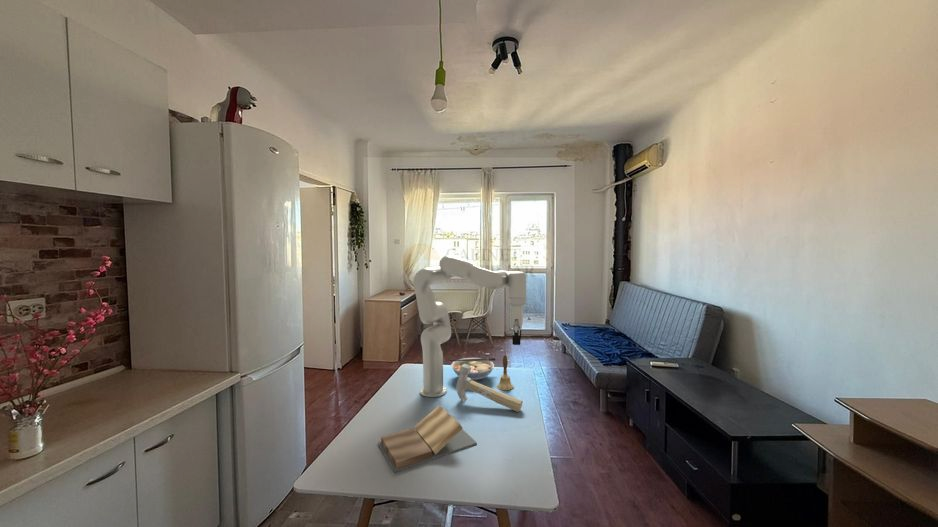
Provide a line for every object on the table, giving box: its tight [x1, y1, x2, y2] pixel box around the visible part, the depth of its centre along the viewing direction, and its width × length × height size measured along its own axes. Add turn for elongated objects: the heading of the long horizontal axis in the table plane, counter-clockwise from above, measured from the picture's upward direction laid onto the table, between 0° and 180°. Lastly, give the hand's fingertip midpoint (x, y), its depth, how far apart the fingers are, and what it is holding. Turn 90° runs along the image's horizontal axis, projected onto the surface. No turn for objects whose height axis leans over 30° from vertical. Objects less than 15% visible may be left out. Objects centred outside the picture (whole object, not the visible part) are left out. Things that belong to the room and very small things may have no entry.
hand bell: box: [496, 354, 515, 391], centre depth 171 cm, size 8×8×16 cm
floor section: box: [377, 427, 478, 473], centre depth 123 cm, size 18×30×3 cm, turn 120°
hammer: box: [455, 364, 523, 413], centre depth 152 cm, size 16×5×30 cm
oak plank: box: [413, 404, 464, 454], centre depth 124 cm, size 17×12×2 cm
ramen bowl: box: [449, 357, 496, 382], centre depth 183 cm, size 25×23×8 cm
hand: (517, 341), depth 146 cm, fingers open, 9 cm apart
